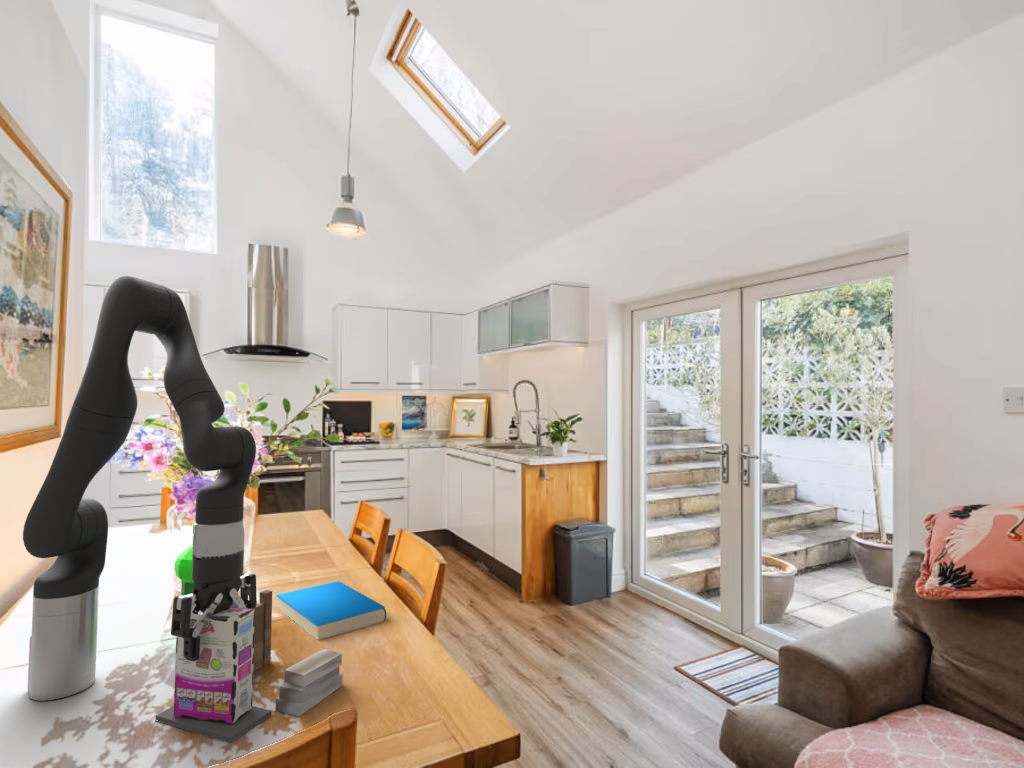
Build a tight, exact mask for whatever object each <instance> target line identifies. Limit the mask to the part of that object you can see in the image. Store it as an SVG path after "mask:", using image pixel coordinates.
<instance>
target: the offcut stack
mask: <svg viewBox="0 0 1024 768" xmlns="http://www.w3.org/2000/svg"><path fill="white" fill-rule="evenodd" d="M342 663H343V654H342V653H341V652H337V651H333V650H329V649H325V648H322V649H321V650H318V651H316V652H315V653H313V654H312V655H310V656H308V657H306V658H304V659H302V660H300V661H298V662H296V663H294V664H292V665H290V666H289V667H288V668H286V669H284V677H283V679H284V683H282V684H281V685H279V688H278V689H279V693H278V694H279V695H278V696H277V697H275V711H277V712H281V713H285V714H288V715H292V716H295V717H301V716H302V715H303V714H304V713H306V712H308V711H309V710H310V709H312V708H313V707H315V706H316V705H318V704H319V703H320V702H321V701H323V700H324V699H326V698H327V697H328V696H329V695H331V694H332V693H334V692H335V691H336V690H338V689H339V688H341V687H342V686H343V684H344V682H343V678H344V677H343V673H341V672H340V666H342Z"/></svg>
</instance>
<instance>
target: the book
mask: <svg viewBox="0 0 1024 768" xmlns="http://www.w3.org/2000/svg"><path fill="white" fill-rule="evenodd" d="M276 598H277V609H278V608H279V609H280V610H281V611H280V610H279V609H278V610H279V611H280V612H281V613H283V614H284V613H285V614H286V615H285V614H284V615H285V616H287V617H288V616H289V617H290V618H289V617H288V618H289V619H291V620H292V621H293V620H294V621H295V622H294V621H293V622H294V623H296V624H297V625H298V626H299V625H300V626H299V627H301V628H302V629H303V628H304V629H303V630H305V631H306V632H307V633H308V634H310V635H311V636H312V637H313V638H315V639H316V640H317V639H318V640H317V641H319V640H323V638H324V639H326V638H330V636H331V637H334V636H337V635H341V634H345V633H348V632H351V631H356V630H358V629H362V628H365V627H369V626H372V625H375V624H379V622H380V623H383V622H385V621H386V618H387V610H386V608H385V606H384V605H383V604H381V603H380V602H377V601H375V600H373V599H372V598H370V597H368V596H367V595H364V594H363V593H361V592H359V591H357V590H356V589H354V588H352V587H350V586H349V585H347V584H345V583H343V582H341V581H340V580H338V581H334V582H333V581H332V582H328V583H323V584H320V585H314V586H310V587H305V588H301V589H297V590H292V591H286V592H282V593H278V594H276ZM382 621H383V622H382Z"/></svg>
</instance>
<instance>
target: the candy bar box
mask: <svg viewBox="0 0 1024 768" xmlns="http://www.w3.org/2000/svg"><path fill="white" fill-rule="evenodd" d="M191 609H192V608H191ZM202 614H203V613H202V612H201V611H199V613H198V615H202ZM254 619H255V609H248V608H235V607H229V609H227V610H221V611H220V612H218V613H217V614H214V615H212V616H211V618H210V620H209V621H208V622H207V623H205V624H204V626H203V628H202V630H201V631H200V633H199V635H198V636H200V657H199V659H198V660H196V661H194V662H193V661H189V660H187V659H186V658H184V655H183V649H184V638H181V637H178V636H175V637H176V639H175V668H174V669H175V672H174V694H173V695H174V701H173V706H174V717H179V718H187V719H195V720H204V721H212V722H221V723H229V724H234V723H235V722H237V721H238V720H239V719H240V718H241V717H243V716H244V715H245V714H247V713H248V712H249V711H250V710H251V709H252V706H253V703H254V702H253V700H254V699H253V697H254V696H253V693H254V691H253V690H254V671H253V654H254ZM196 622H197V621H196ZM196 622H195V624H196ZM195 624H194V626H195ZM194 626H193V628H194ZM180 628H181V626H180Z"/></svg>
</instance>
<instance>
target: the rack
mask: <svg viewBox="0 0 1024 768" xmlns="http://www.w3.org/2000/svg"><path fill="white" fill-rule="evenodd" d="M251 609H252V608H251ZM254 609H255V619H254V654H253V672H255V671H257V670H259V669H261V668H262V667H266V666H268V665H269V664H271V662H272V661H271V658H272V657H271V655H272V652H271V651H272V623H273V622H272V618H273V617H272V614H273V612H272V611H273V591H272V590H269V589H265V590H263V591H260V592H259V603H257V605H256V607H255V608H254Z"/></svg>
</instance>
